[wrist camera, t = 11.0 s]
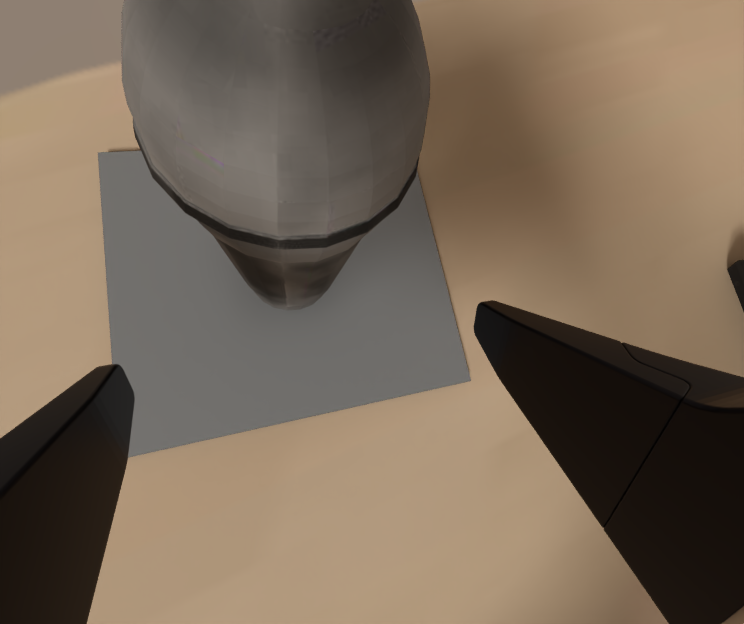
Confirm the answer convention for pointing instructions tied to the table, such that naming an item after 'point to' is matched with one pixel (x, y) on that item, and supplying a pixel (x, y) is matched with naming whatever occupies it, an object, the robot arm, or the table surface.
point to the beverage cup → (279, 125)
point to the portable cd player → (738, 279)
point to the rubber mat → (263, 320)
